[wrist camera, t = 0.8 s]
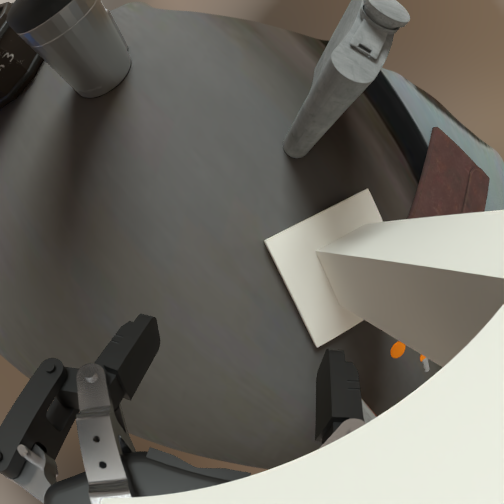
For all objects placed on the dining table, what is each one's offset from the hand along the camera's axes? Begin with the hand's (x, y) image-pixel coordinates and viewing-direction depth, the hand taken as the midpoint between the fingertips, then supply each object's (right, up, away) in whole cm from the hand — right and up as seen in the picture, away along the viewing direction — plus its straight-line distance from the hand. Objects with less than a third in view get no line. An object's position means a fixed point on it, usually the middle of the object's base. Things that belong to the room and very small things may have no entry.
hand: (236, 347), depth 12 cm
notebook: (+31, +12, +21) cm, 39 cm away
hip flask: (+9, +23, +19) cm, 31 cm away
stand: (+10, +2, +20) cm, 22 cm away
